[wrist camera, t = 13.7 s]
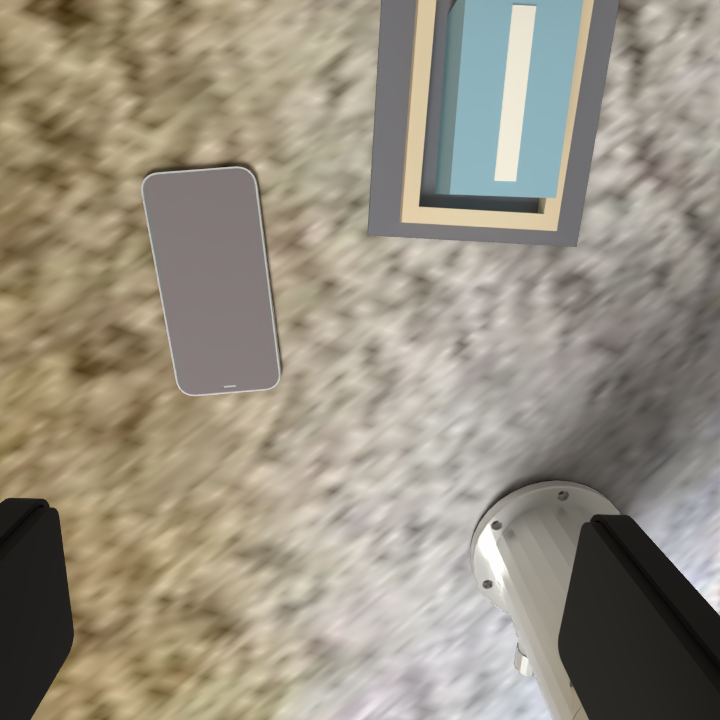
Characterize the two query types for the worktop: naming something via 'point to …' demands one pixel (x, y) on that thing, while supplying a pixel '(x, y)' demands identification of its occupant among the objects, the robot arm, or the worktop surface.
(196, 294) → the smartphone
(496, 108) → the card box
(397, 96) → the mat
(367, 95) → the worktop surface
